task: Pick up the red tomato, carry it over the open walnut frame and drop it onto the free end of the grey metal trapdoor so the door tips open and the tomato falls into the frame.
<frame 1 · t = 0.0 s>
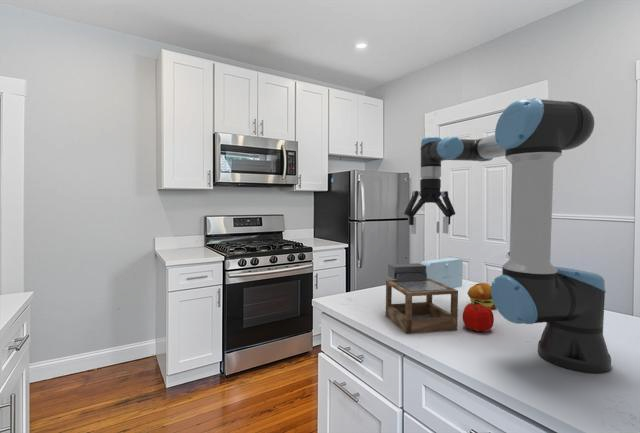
hand: (429, 233, 132), 28 cm above the worktop, fingers open, 13 cm apart
cheeseburger: (483, 306, 132), on the worktop
trapdoor: (415, 277, 117), point 14 cm above the worktop, hinge at 0.0°
light blue box: (441, 288, 159), on the worktop
tomato: (476, 329, 108), on the worktop
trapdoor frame: (419, 322, 114), on the worktop
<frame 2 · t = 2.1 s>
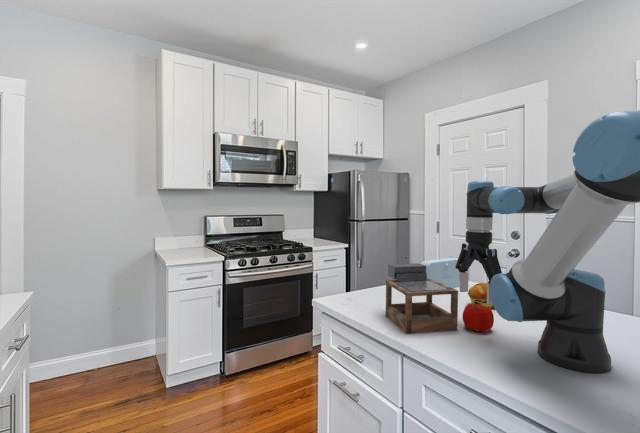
hand: (476, 297, 108), 10 cm above the worktop, fingers open, 13 cm apart
nothing on the worktop moved.
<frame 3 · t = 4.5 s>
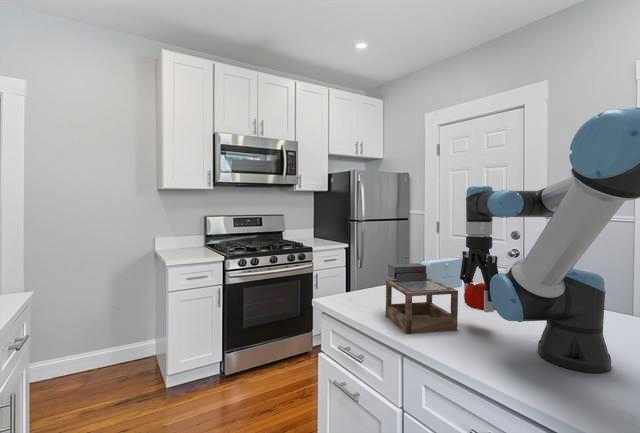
hand: (478, 307, 107), 7 cm above the worktop, fingers closed on tomato, 9 cm apart
tomato: (478, 309, 107), point 7 cm above the worktop, touching gripper
everything else where it was.
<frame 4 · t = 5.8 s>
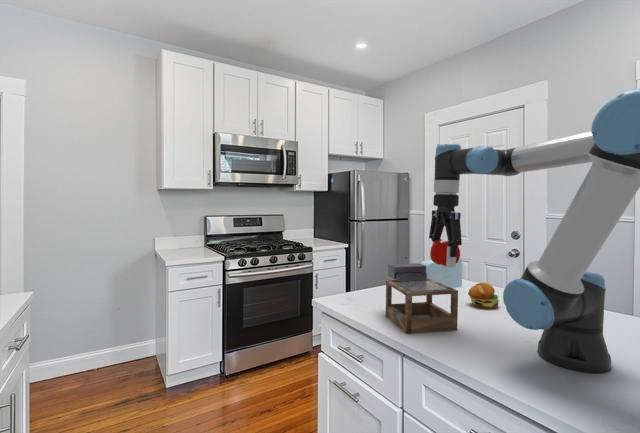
hand: (443, 263, 110), 20 cm above the worktop, fingers closed on tomato, 9 cm apart
tomato: (443, 265, 110), point 20 cm above the worktop, touching gripper
everything else where it was.
when the fingers open (15 cm above the worktop, at t = 7.1 s): tomato drops 5 cm, resting on trapdoor, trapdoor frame.
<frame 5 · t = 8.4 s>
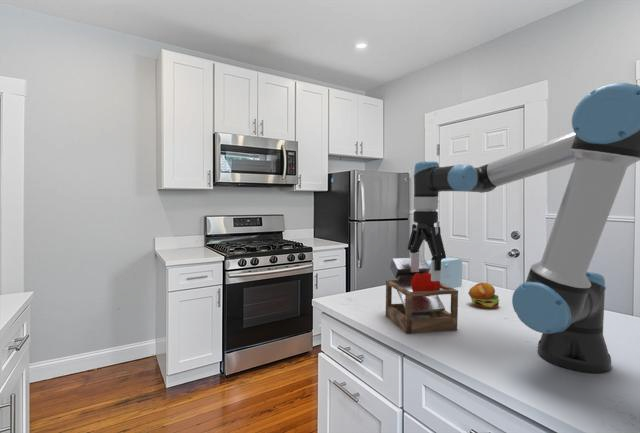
hand: (424, 276, 110), 16 cm above the worktop, fingers open, 13 cm apart
trapdoor: (416, 283, 116), point 13 cm above the worktop, hinge at -32.2°, touching gripper, tomato
tomato: (425, 296, 110), point 10 cm above the worktop, touching trapdoor, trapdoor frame
everything else where it was.
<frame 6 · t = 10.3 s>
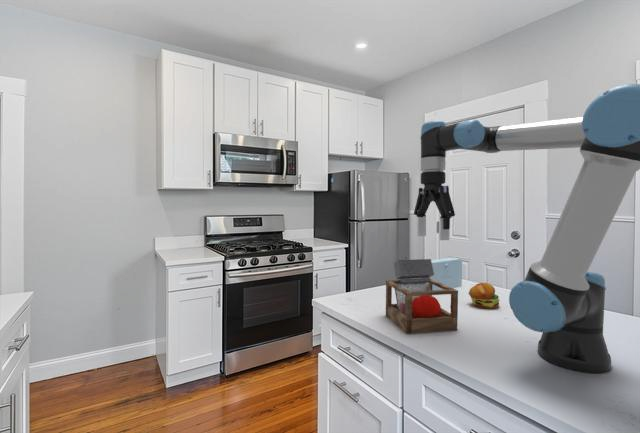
hand: (432, 238, 110), 29 cm above the worktop, fingers open, 13 cm apart
trapdoor: (416, 289, 116), point 10 cm above the worktop, hinge at -65.1°
tomato: (429, 320, 109), point 2 cm above the worktop, touching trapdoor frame
everything else where it was.
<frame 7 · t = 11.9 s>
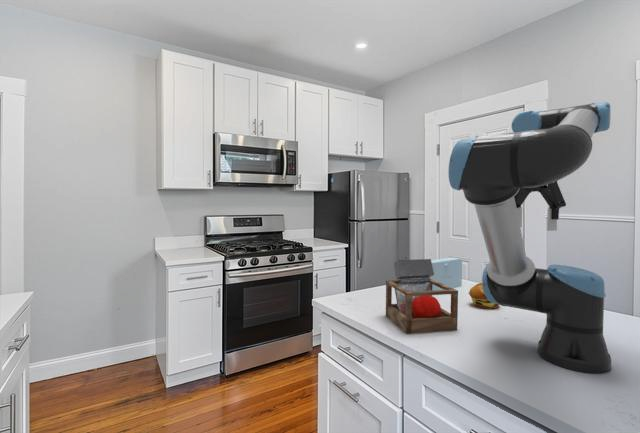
hand: (533, 228, 110), 32 cm above the worktop, fingers open, 13 cm apart
nothing on the worktop moved.
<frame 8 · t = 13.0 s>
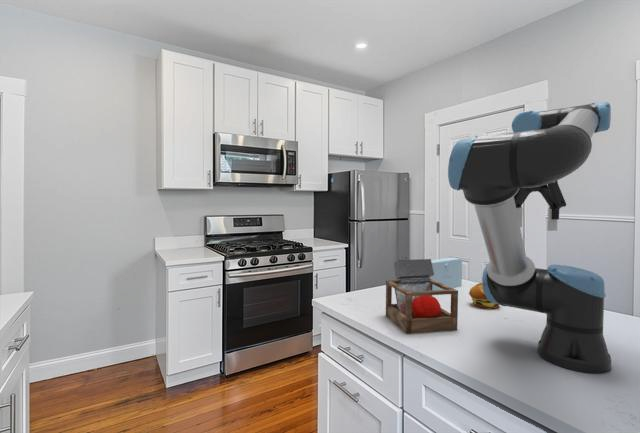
hand: (533, 228, 109), 32 cm above the worktop, fingers open, 13 cm apart
nothing on the worktop moved.
at the end: tomato point 2.5 cm above the worktop; tomato inside the target area on the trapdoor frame (5.5 cm from its centre), point 2.5 cm above the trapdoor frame's base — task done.
